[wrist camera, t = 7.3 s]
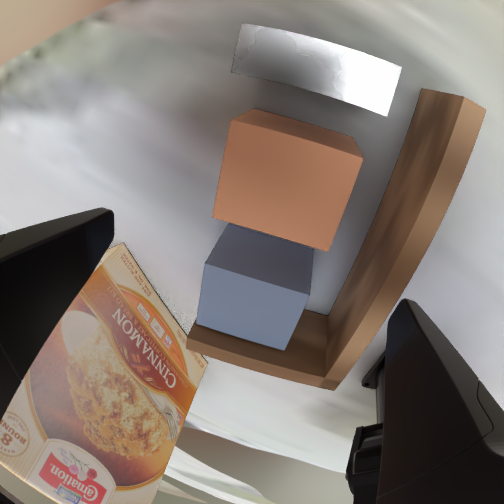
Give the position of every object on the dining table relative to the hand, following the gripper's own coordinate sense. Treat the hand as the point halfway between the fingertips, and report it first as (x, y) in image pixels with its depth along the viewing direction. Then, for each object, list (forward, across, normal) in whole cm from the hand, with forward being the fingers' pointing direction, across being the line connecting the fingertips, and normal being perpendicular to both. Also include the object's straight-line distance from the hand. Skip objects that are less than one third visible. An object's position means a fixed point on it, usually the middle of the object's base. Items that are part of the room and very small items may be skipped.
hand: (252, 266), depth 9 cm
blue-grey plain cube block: (+12, 0, +8) cm, 14 cm away
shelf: (+11, -2, +3) cm, 12 cm away
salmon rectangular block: (+12, 0, 0) cm, 12 cm away
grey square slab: (+11, 0, -6) cm, 13 cm away
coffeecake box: (+12, +9, +18) cm, 23 cm away
